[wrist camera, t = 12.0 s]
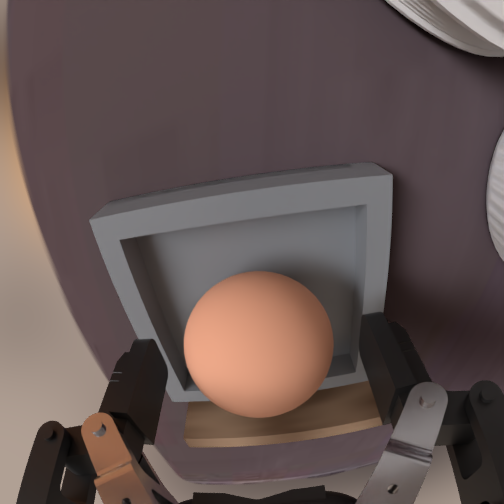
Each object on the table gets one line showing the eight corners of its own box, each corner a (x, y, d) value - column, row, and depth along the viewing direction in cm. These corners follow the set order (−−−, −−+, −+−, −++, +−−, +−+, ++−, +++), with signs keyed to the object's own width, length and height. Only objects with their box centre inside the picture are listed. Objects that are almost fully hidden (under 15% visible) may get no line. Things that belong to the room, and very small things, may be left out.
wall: (377, 369, 17) (393, 413, 14) (375, 380, 18) (389, 422, 15) (190, 392, 18) (183, 438, 15) (195, 402, 19) (189, 447, 16)
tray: (372, 161, 11) (392, 174, 10) (362, 354, 17) (371, 379, 15) (109, 201, 12) (89, 219, 10) (178, 375, 17) (173, 401, 16)
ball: (342, 276, 13) (384, 375, 8) (278, 356, 16) (288, 450, 11) (226, 222, 12) (213, 318, 7) (177, 319, 14) (153, 418, 9)
